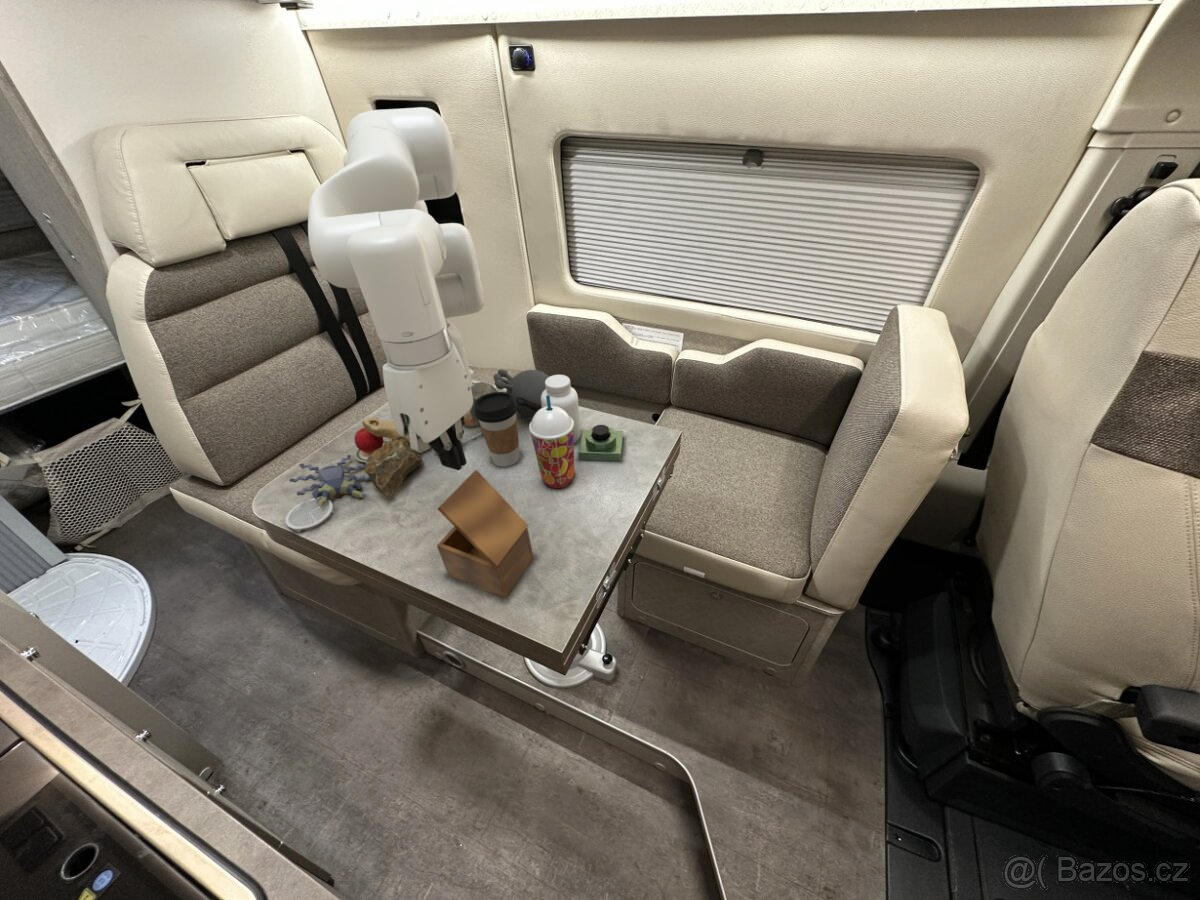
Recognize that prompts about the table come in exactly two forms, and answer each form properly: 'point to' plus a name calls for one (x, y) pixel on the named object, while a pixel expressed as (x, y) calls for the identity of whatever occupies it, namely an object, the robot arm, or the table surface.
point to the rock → (391, 465)
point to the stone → (478, 391)
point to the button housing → (601, 446)
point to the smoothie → (553, 444)
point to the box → (485, 563)
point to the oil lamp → (383, 429)
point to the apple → (367, 444)
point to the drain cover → (309, 514)
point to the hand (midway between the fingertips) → (454, 464)
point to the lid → (484, 518)
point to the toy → (332, 481)
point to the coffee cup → (499, 426)
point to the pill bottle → (563, 399)
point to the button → (600, 432)
